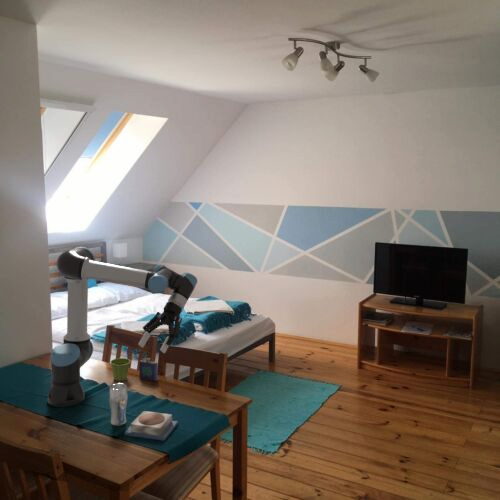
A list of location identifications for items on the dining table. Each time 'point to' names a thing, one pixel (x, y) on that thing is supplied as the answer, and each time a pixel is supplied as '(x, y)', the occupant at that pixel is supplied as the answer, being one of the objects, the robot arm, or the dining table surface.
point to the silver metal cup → (118, 403)
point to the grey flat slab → (150, 436)
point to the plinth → (151, 423)
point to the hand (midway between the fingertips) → (151, 348)
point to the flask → (148, 370)
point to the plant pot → (120, 368)
